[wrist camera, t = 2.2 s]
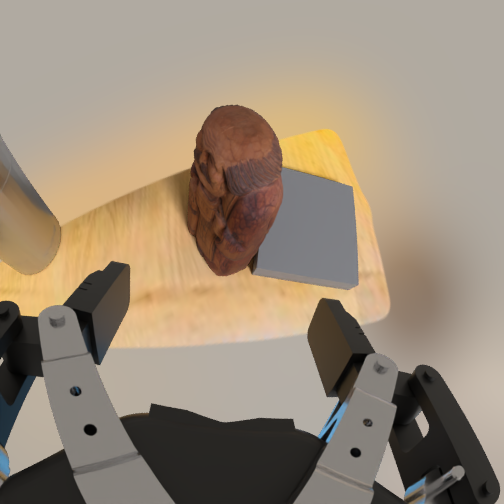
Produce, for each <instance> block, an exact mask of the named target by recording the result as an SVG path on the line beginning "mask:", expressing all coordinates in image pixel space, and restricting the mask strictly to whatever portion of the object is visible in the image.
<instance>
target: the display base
mask: <svg viewBox="0 0 504 504" xmlns="http://www.w3.org/2000/svg"><path fill="white" fill-rule="evenodd" d="M281 177H282V184H283V199H282V203H281V205H280V208H279V210H278V213H277V216H276V218H275V221H274V223H273V225H272V227H271V228H270V230H269V232H268V234H266V237H265V239H264V241H263V242H262V244H261V245H260V247H259V249H258V251H257V253H256V254H255V255H254V263H253V271H252V275H258V276H264V277H270V278H276V279H282V280H288V281H294V282H300V283H306V284H313V285H319V286H325V287H332V288H338V289H345V290H350V289H352V288H353V287H355V286H357V285H358V252H357V233H356V219H355V207H354V196H353V187H351V186H348V185H345V184H342V183H338V182H335V181H331V180H328V179H324V178H321V177H317V176H314V175H310V174H306V173H302V172H299V171H295V170H291V169H287V168H283V167H282V171H281Z"/></svg>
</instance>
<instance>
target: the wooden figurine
mask: <svg viewBox="0 0 504 504" xmlns="http://www.w3.org/2000/svg"><path fill="white" fill-rule="evenodd" d="M194 159H195V160H194V162H193V165H192V167H191V177H192V178H191V180H190V184H189V200H188V229H189V232H190V234H192V235H195V236H196V240H197V246H198V250H199V252H200V254H201V255H202V256H203V257H204V258H205V260H206V262H207V264H208V265H209V267H210V268H211V269H212V271H213V272H214V273H215V274H216V275H218V276H228V275H231V274H234V273H237V272H238V271H240V270H243V269H245V268H246V267H247V265H248V264H249V262H250V261H251V259H252V258H253V256H254V255H255V254H256V253H257V251H258V249H259V247H260V245H261V244H262V242H263V241H264V239H265V237H266V234H268V232H269V230H270V228H271V227H272V225H273V223H274V221H275V218H276V216H277V213H278V210H279V208H280V205H281V203H282V199H283V184H282V177H281V171H282V151H281V148H280V145H279V141H278V138H277V137H276V134H275V133H274V131H273V130H272V128H271V127H270V125H269V124H268V123H267V122H266V120H265V119H263V117H262V116H260V115H259V114H258V113H256V112H254V111H253V110H251V109H249V108H246V107H243V106H239V105H226V106H221V107H217V108H215V109H214V110H213V111H212V112H211V114H210V115H209V116H208V117H207V119H206V120H205V122H204V124H203V126H202V129H201V130H200V132H199V133H198V135H197V137H196V149H195V150H194Z"/></svg>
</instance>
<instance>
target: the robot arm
mask: <svg viewBox="0 0 504 504" xmlns="http://www.w3.org/2000/svg"><path fill="white" fill-rule="evenodd" d="M60 237H61V231H60V225H59V222H58V221H57V219H56V217H55V216H54V215H53V213H52V212H51V211H50V210H49V208H48V207H47V206H46V204H45V203H44V201H43V200H42V199H41V197H40V196H39V194H38V193H37V192H36V190H35V189H34V187H33V186H32V184H31V183H30V182H29V180H28V179H27V177H26V176H25V174H24V173H23V171H22V170H21V168H20V167H19V165H18V163H17V162H16V160H15V159H14V157H13V155H12V154H11V152H10V151H9V149H8V147H7V146H6V144H5V142H4V141H3V139H2V137H1V135H0V259H1V260H2V261H3V262H5V263H6V264H8V265H9V266H11V267H12V268H14V269H15V270H17V271H18V272H20V273H22V274H25V275H32V274H36V273H38V272H40V271H42V270H43V269H44V268H46V267H47V266H48V265H49V263H50V262H51V261H52V260H53V258H54V256H55V255H56V252H57V250H58V248H59V244H60ZM129 302H130V266H129V264H124V263H119V262H115V261H111V262H110V263H109V265H108V266H107V267H106V268H105V269H104V270H103V271H100V270H98V271H96V272H94V273H92V274H90V275H88V277H87V278H86V279H85V280H84V281H83V283H81V284H80V286H79V287H78V288H77V289H76V290H75V291H74V292H73V294H72V295H71V296H70V297H69V298H68V299H67V301H66V302H65V303H64V304H63V305H55V306H50V307H48V308H46V309H44V310H43V311H42V312H41V313H40V314H39V317H32V316H21V314H20V310H19V307H18V305H17V304H15V303H14V302H11V301H1V302H0V359H1V357H2V358H3V360H4V361H3V363H2V364H1V366H0V504H494V503H495V502H496V501H497V500H498V498H499V494H500V486H499V482H498V480H497V478H496V475H495V473H494V471H493V469H492V467H491V464H490V462H489V460H488V458H487V456H486V454H485V452H484V450H483V448H482V446H481V444H480V442H479V440H478V439H477V437H476V435H475V433H474V431H473V429H472V427H471V425H470V424H469V422H468V420H467V418H466V416H465V415H464V413H463V411H462V410H461V408H460V406H459V404H458V403H457V401H456V399H455V398H454V396H453V394H452V393H451V391H450V390H449V388H448V386H447V385H446V383H445V381H444V380H443V378H442V377H441V375H440V374H439V373H438V372H437V371H436V370H435V369H433V368H432V367H430V366H427V365H419V366H417V367H416V369H415V370H414V371H413V373H412V374H409V373H405V372H400V371H398V368H397V366H396V364H395V363H394V362H393V361H392V360H391V359H390V358H388V357H386V356H384V355H382V354H377V353H375V351H374V349H373V347H372V346H371V344H370V343H369V341H368V339H367V337H366V336H365V335H364V332H363V331H362V329H360V326H359V324H358V322H357V321H356V319H355V318H353V317H352V316H351V315H350V314H349V313H348V312H346V311H345V309H344V308H343V306H342V304H341V303H340V301H339V300H333V299H326V298H322V299H321V300H320V301H319V303H318V306H317V308H316V311H315V313H314V316H313V318H312V321H311V323H310V326H309V329H308V342H309V345H310V348H311V351H312V354H313V357H314V360H315V363H316V365H317V369H318V372H319V375H320V378H321V381H322V384H323V387H324V390H325V393H326V396H327V397H338V398H339V401H338V403H337V404H336V405H335V407H334V409H333V411H332V413H331V415H330V417H329V418H328V420H327V422H326V424H325V425H324V427H323V429H322V430H321V432H320V434H319V435H318V437H316V436H315V435H313V434H310V433H308V432H305V431H302V430H299V429H295V426H294V422H293V419H271V418H257V419H250V420H243V421H235V422H227V423H226V422H219V421H216V420H213V419H210V418H207V417H204V416H201V415H198V414H196V413H193V412H190V411H188V410H183V409H177V408H172V407H166V406H161V405H157V404H151V407H150V411H149V413H138V414H131V415H126V416H123V417H120V418H119V417H118V416H117V413H116V411H115V409H114V407H113V405H112V403H111V401H110V399H109V396H108V394H107V392H106V390H105V388H104V385H103V383H102V381H101V378H100V376H99V373H98V371H97V368H96V366H95V364H97V365H100V364H101V362H102V360H103V358H104V356H105V354H106V351H107V350H108V348H109V346H110V344H111V342H112V340H113V338H114V336H115V334H116V332H117V330H118V328H119V326H120V324H121V322H122V320H123V318H124V316H125V314H126V312H127V310H128V307H129ZM36 376H38V377H44V380H45V385H46V389H47V393H48V397H49V401H50V405H51V409H52V412H53V416H54V419H55V423H56V426H57V429H58V432H59V435H60V438H61V441H62V444H63V446H64V449H63V450H61V451H59V452H57V453H55V454H53V455H51V456H50V457H48V458H46V459H44V460H42V461H40V462H38V463H36V464H34V465H32V466H30V467H28V468H26V469H24V470H22V471H20V472H18V473H16V474H13V475H12V476H10V477H9V473H10V468H9V457H8V454H7V451H6V450H5V445H6V443H7V440H8V437H9V435H10V432H11V430H12V427H13V425H14V422H15V420H16V418H17V415H18V413H19V411H20V409H21V406H22V404H23V402H24V400H25V398H26V395H27V393H28V392H29V390H30V387H31V386H32V384H33V382H34V380H35V378H36ZM421 411H423V413H424V415H425V417H426V419H427V421H428V424H429V431H428V433H427V435H426V436H425V437H424V438H423V436H422V433H421V431H420V429H419V427H418V424H417V422H416V420H415V417H416V416H417V415H418V414H419V413H420V412H421ZM388 441H389V444H390V447H391V449H392V452H393V455H394V458H395V461H396V464H397V467H398V470H399V473H400V476H401V479H402V482H403V485H404V488H405V496H404V500H402V499H401V498H399V497H398V496H396V495H395V494H393V493H392V492H390V491H389V490H387V489H386V488H385V487H383V486H382V485H380V484H379V483H377V482H376V481H375V477H376V475H377V472H378V469H379V466H380V463H381V461H382V458H383V454H384V452H385V448H386V445H387V442H388Z"/></svg>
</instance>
